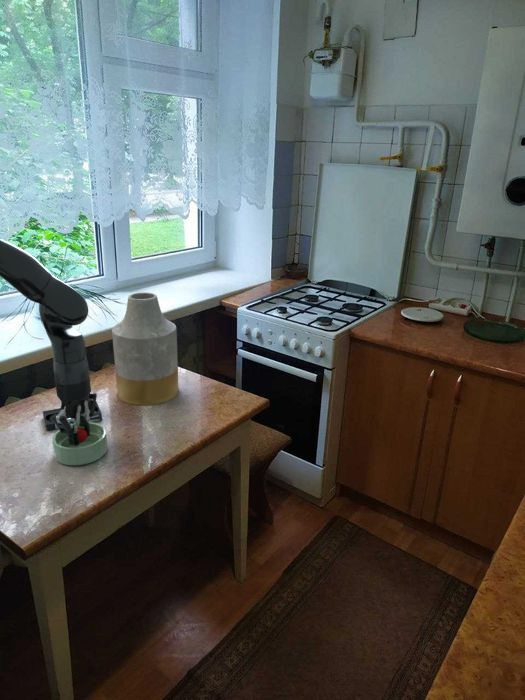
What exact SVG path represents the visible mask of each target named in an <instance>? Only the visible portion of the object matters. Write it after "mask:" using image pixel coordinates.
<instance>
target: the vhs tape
mask: <svg viewBox="0 0 525 700" xmlns="http://www.w3.org/2000/svg"><path fill="white" fill-rule="evenodd" d="M88 408H89V411H90V410H91V407H88ZM60 411H61V407H59V408H53V409H48V410H43V411H42V416H43V421H44V425H45V431H46V432H52V431H55V430H56V431H57V430H59V429H58V427H57V425H56V423H55V422H54V420H53V416H54V415H58V414H59V413H60ZM71 419H75V418H71ZM102 420H103V414H102V411H101V408H100V406H99V403H98V401H97V400H96V405H95V413H94V417H91V418H90V422H93V423H97V422H100V421H102ZM80 422H81V421H80ZM80 422H79V423H80Z"/></svg>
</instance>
